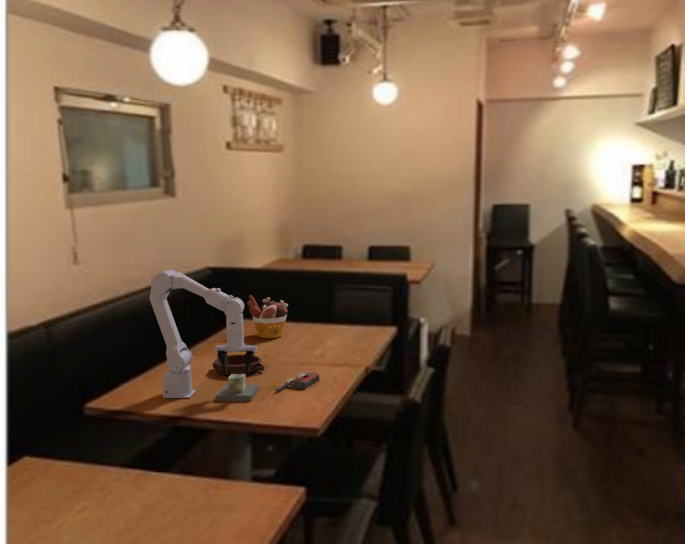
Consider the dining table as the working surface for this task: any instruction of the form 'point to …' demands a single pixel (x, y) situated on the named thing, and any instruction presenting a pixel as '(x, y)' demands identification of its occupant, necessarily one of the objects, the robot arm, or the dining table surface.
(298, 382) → the walkie-talkie
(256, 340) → the dining table surface
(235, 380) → the cube
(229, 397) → the stand
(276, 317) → the bucket of meat
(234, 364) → the dish
